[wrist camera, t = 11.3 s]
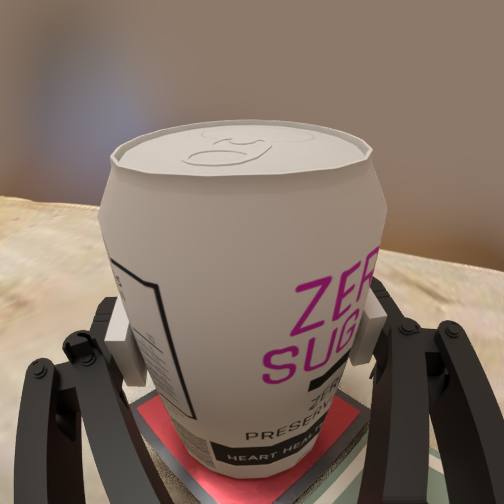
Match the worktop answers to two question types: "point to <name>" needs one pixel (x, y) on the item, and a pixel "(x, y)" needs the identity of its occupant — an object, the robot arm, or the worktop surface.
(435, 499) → the mat
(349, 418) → the ink pad
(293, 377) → the supplement can
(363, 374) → the worktop surface
